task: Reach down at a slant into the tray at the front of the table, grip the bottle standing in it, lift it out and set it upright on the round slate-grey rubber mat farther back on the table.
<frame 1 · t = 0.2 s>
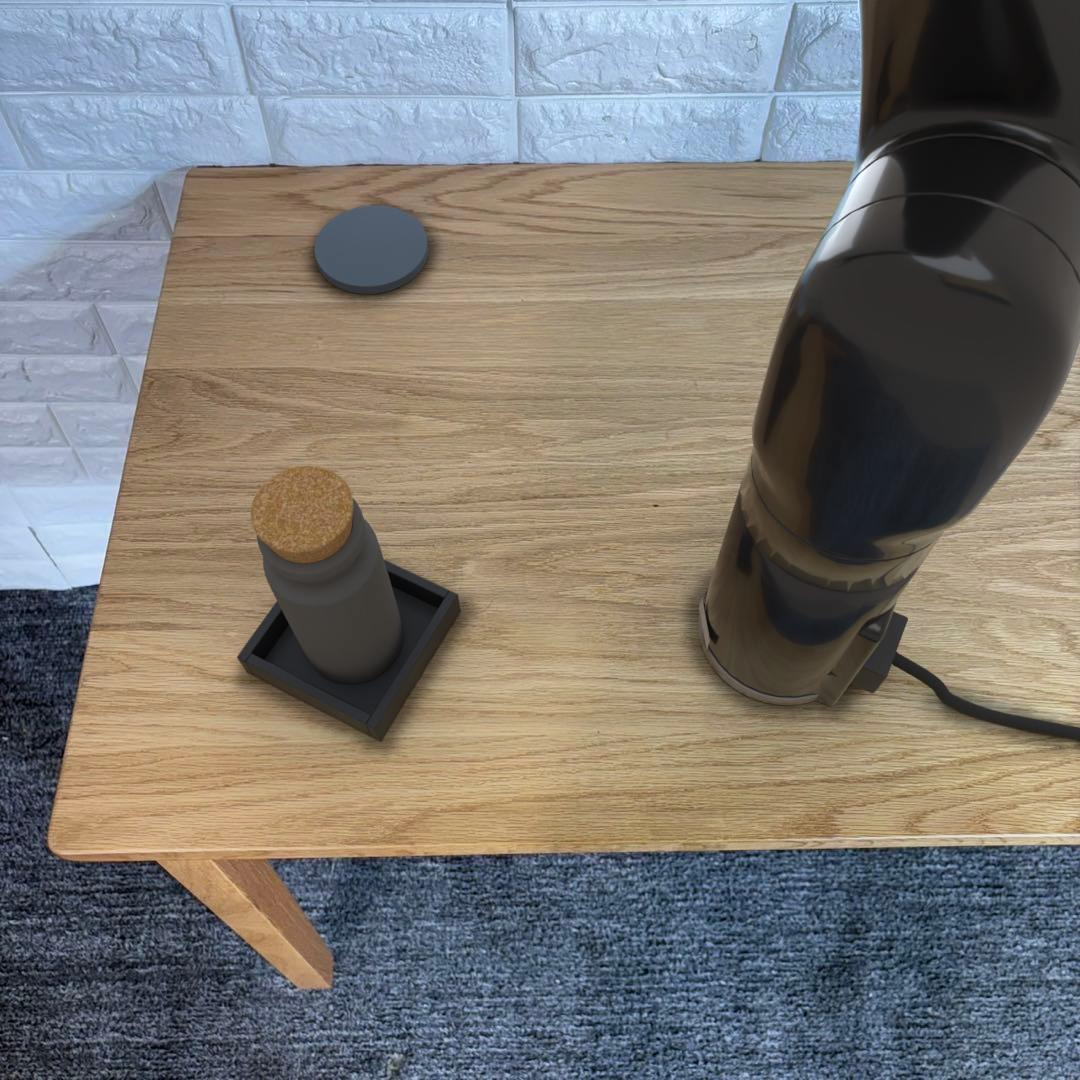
mat: (372, 252, 75), on the table
tray: (355, 641, 59), on the table
bottle: (355, 640, 59), resting on tray
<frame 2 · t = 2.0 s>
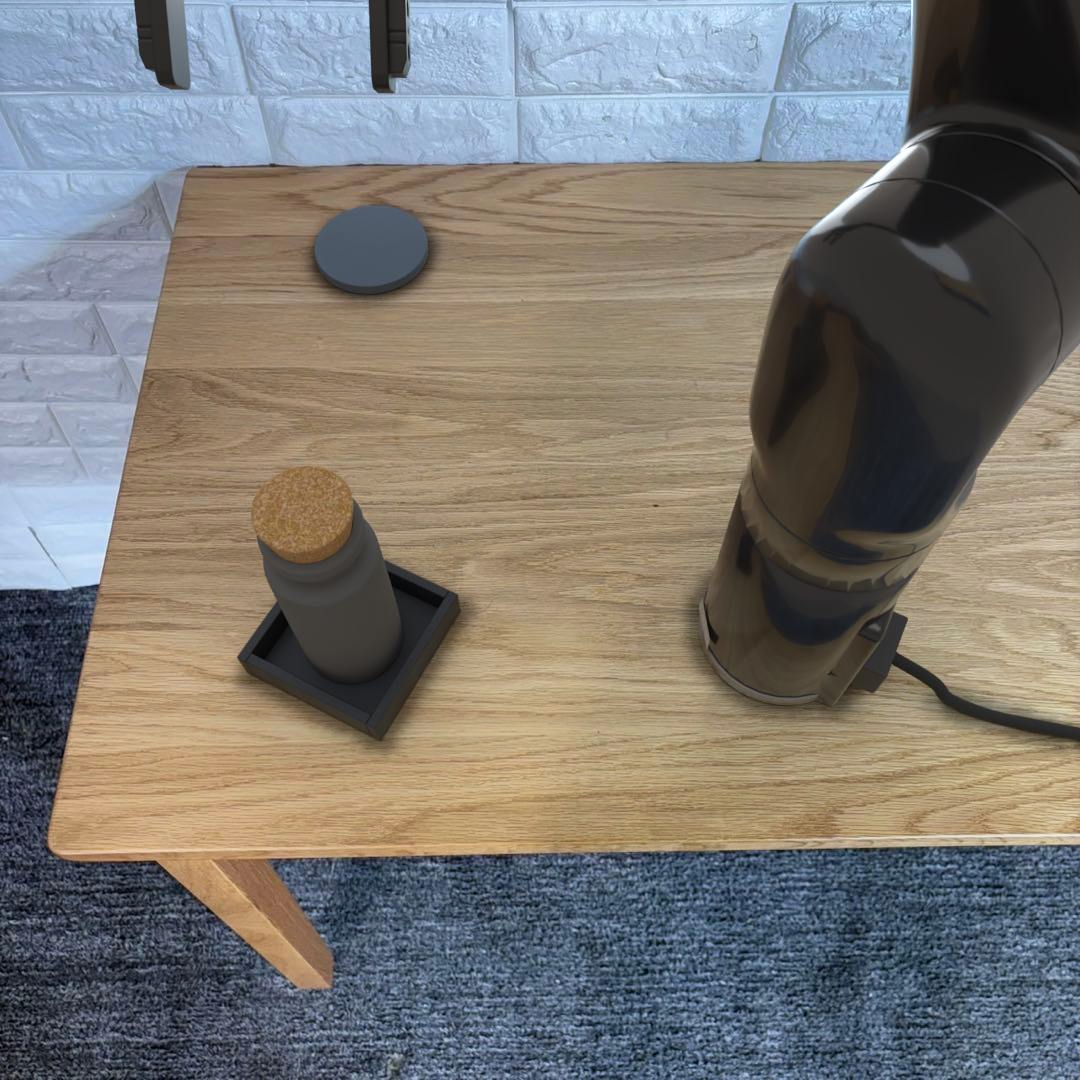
hand: (279, 89, 41), 28 cm above the table, tool tilted 45°, fingers open, 8 cm apart
nothing on the table moved.
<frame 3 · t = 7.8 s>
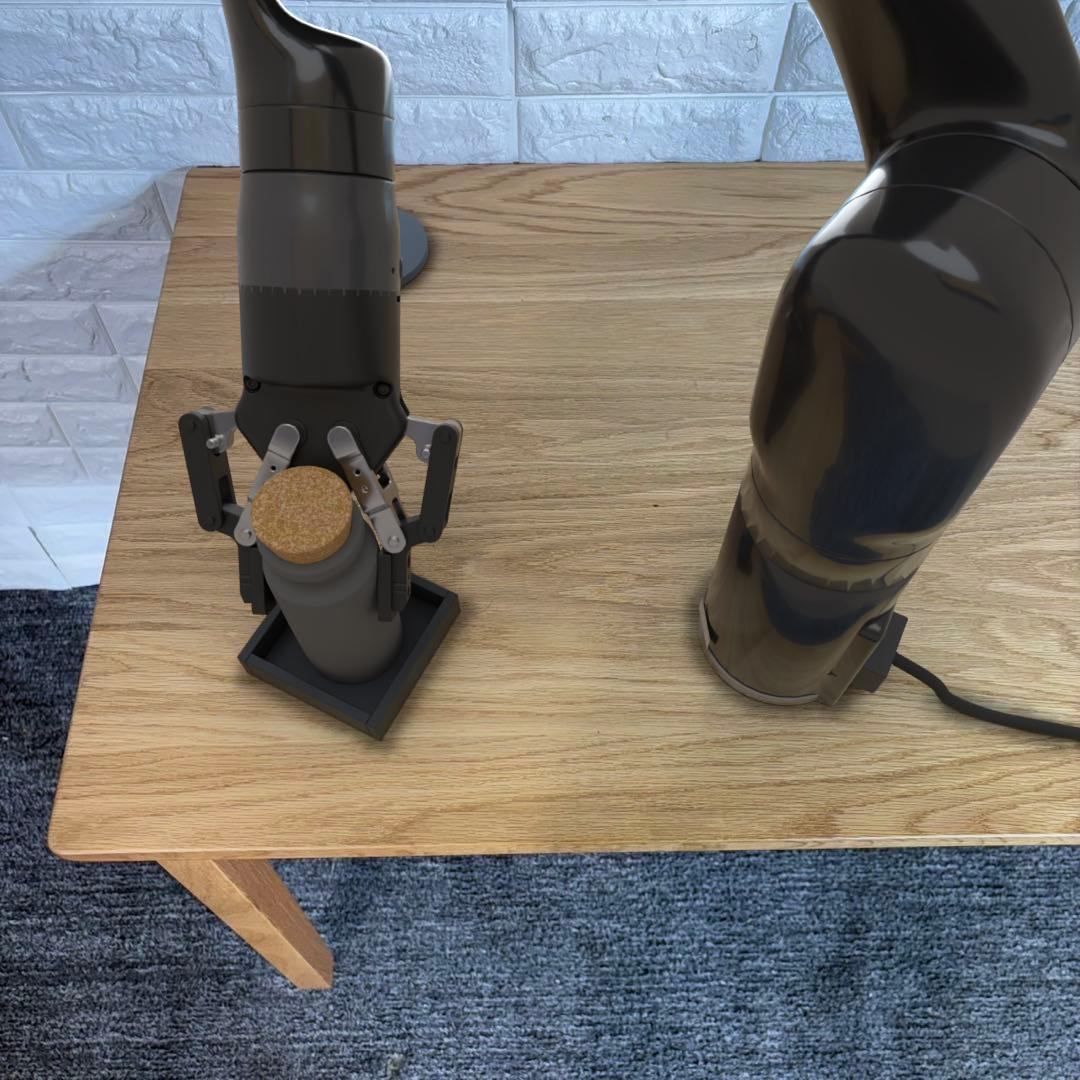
hand: (327, 612, 52), 8 cm above the table, tool tilted 45°, fingers closed on bottle, 6 cm apart
bottle: (355, 640, 59), resting on tray, touching gripper
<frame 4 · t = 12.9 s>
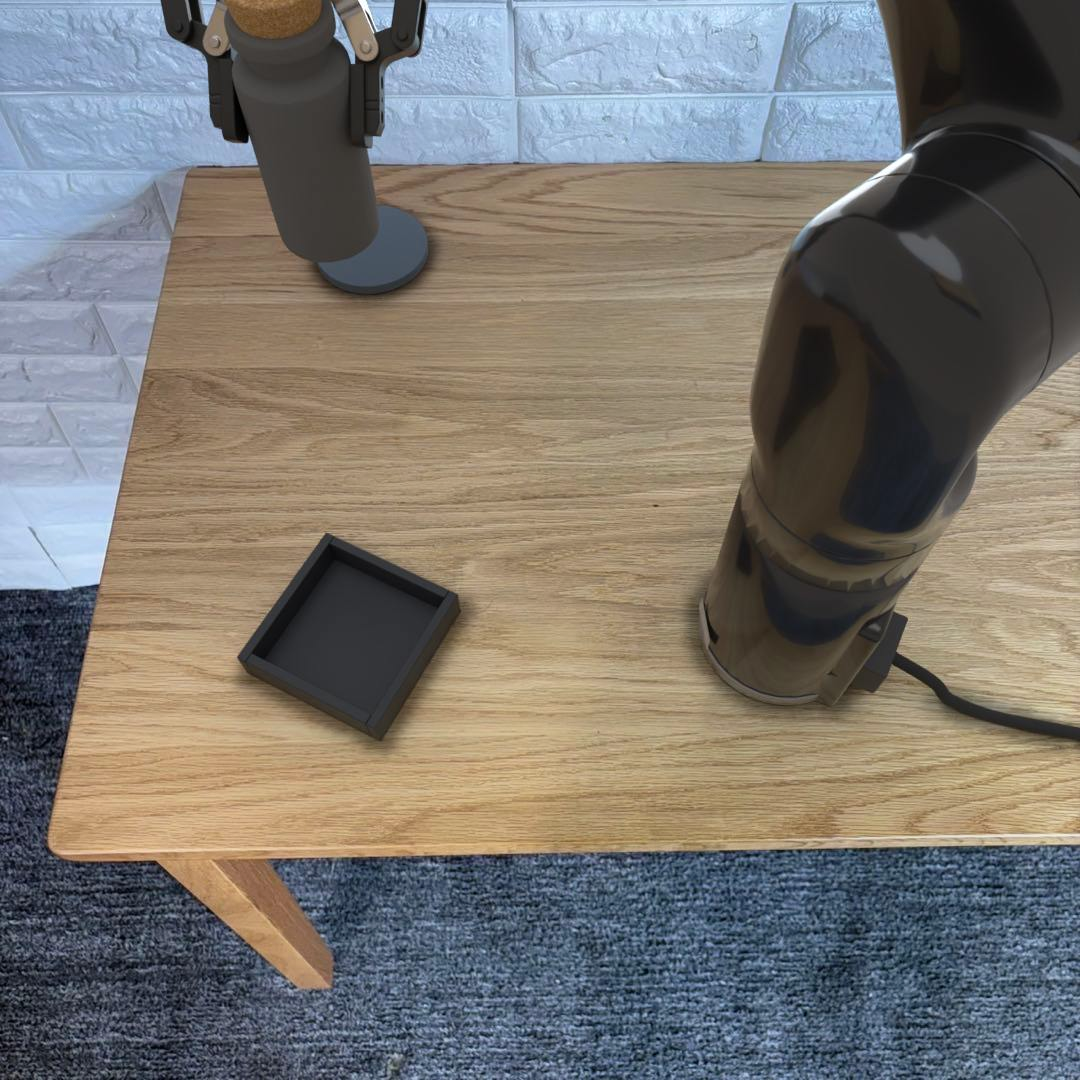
hand: (299, 143, 51), 20 cm above the table, tool tilted 45°, fingers closed on bottle, 6 cm apart
bottle: (330, 229, 58), point 13 cm above the table, touching gripper
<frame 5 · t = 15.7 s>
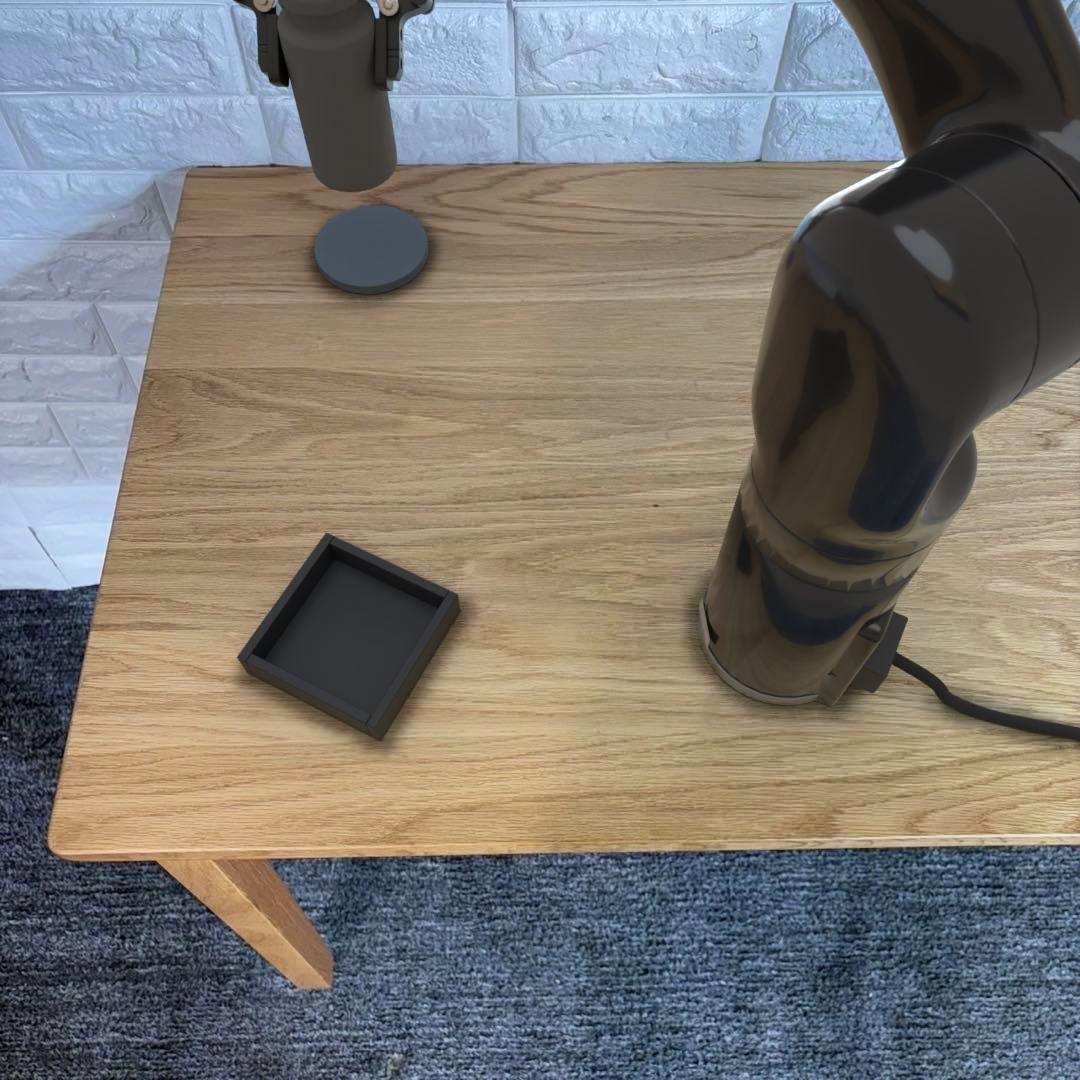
hand: (332, 86, 61), 15 cm above the table, tool tilted 45°, fingers closed on bottle, 6 cm apart
bottle: (355, 166, 68), point 8 cm above the table, touching gripper
when the fingers open (8 cm above the table, at t = 18.2 s): bottle stays where it is, resting on mat.
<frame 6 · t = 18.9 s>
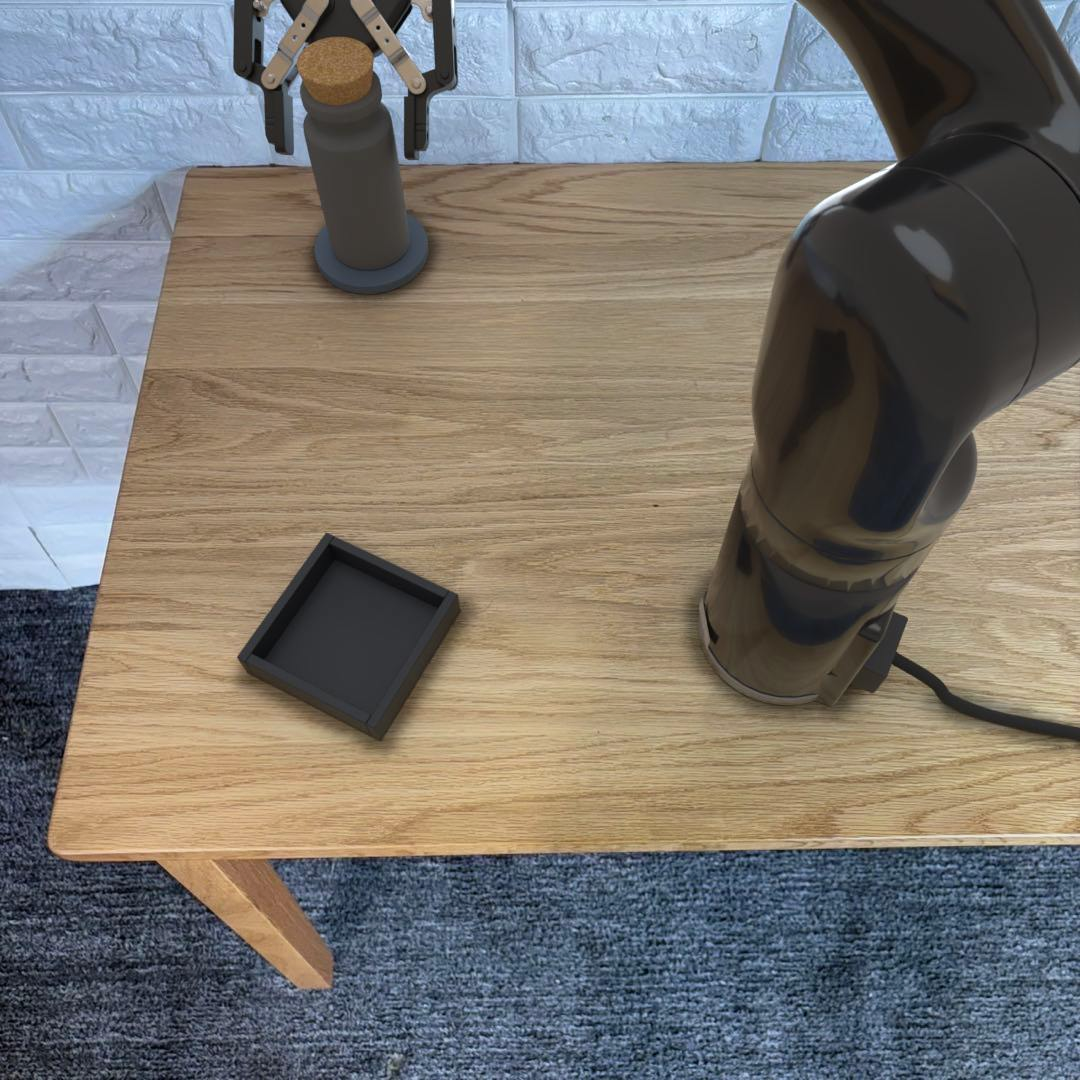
hand: (348, 156, 67), 9 cm above the table, tool tilted 45°, fingers open, 8 cm apart
bottle: (371, 244, 75), point 1 cm above the table, touching mat
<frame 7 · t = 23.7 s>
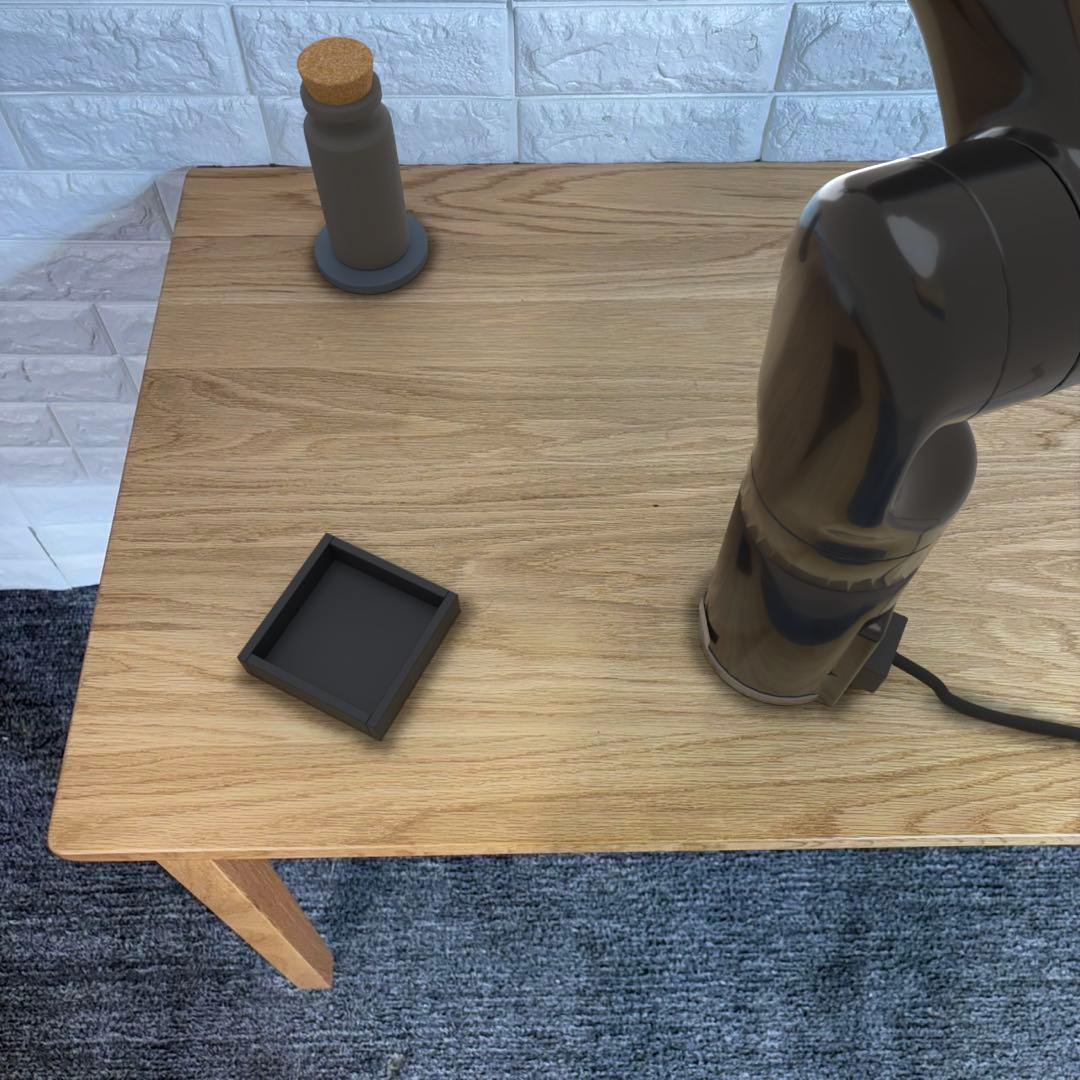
nothing on the table moved.
at the end: bottle inside the target area on the mat (0.2 cm from its centre), point 0.6 cm above the mat's base; bottle tilted 0°; bottle touching mat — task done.
